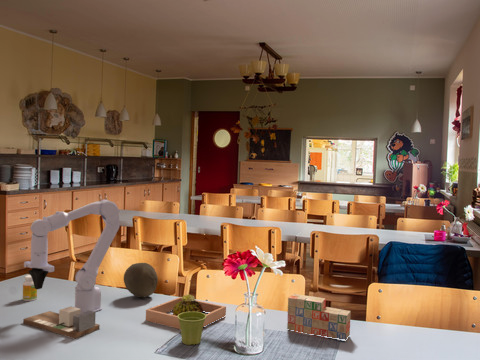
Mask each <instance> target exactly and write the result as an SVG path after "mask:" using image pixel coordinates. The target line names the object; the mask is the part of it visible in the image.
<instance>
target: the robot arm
mask: <svg viewBox="0 0 480 360" xmlns="http://www.w3.org/2000/svg"><path fill="white" fill-rule="evenodd" d="M118 207H119V206H118V205H117V203H115V202H114V201H110V200H108V199H105V198H103V199H101V200H98V201H94V202H90V203H88V204H86V205H83V206H81V207H79V208H76V209H74V210H73V209H72V210H71V211H68V212H65V211H64V210H63V211H62V210H61V211H59V210H56V211H55V213H53V214H51V215H49V216H48V215H47V216H42V219H40V218H37V219H35V220H34V221H33V222H32V223H31V226H30V231H31V232H32V233H31V240H30V260H28V261H23V267H24V268H30V269H29V270H28V274H29V275H31V277H32V279H33V283H34V287H35V289H37V290H41V289H43V285H44V282H45V279H46V277H47V275H48V274H49V273H53V272H55V266H54V265H52V264H49V263H48V255H49V254H48V252H49V249H48V248H49V245H48V244H49V240H48V234H49V232H54V231H56V230H59V229H62V228H64V227H67V226H68V225H69V224H70V222H71V221H74V220H76V219H80V218H83V217H85V216H88V215H96V216H101V217H102V220H103V222H104V224H105V225H104V228H103V230H102V232H101V234H100V236H99V238H98V239H97V242H96V243H95V245H94V247H93V250H92V251H91V254H90V255H89V256H88V258H87V260H86V262H85V263H84V264H83V265H82V267H81V268H80V269H79V270H78V271H77V272H76V274H75V276H74V279H75V282H76V286H75V287H74V288H75V289H74V291H75V292H74V307H75V308H79V309H81V313H83V312H86V311H89V310H90V311H94V312H98V311H102V310H103V308H102V307H101V305H102V304H101V303H102V292H101V289H100V288H99V287H98V286H96V282H97V281H96V280H97V276H98V274H99V269H100V266H101V264H102V262H103V260H104V258H105V256H106V254H107V252H108V250H109V248H110V246H111V245H112V242H113V241H114V239H115V237H116V235H117V232H118V231H119V229H120V226H121V225H120V209H119V208H118Z"/></svg>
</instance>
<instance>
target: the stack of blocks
mask: <svg viewBox="0 0 480 360" xmlns="http://www.w3.org/2000/svg"><path fill="white" fill-rule="evenodd" d="M326 303H327V299H326V298H324V297H319V296H312V295H311V296H310V295H304V294H297V293H293V294H291V295H290V296H289V297H287V324H286V325H287V327H286V330H287V329H289V330H294V331H298V332H303V333H307V334H314V335H321V336H327V337H332V338H339V339H345V340H346V339H347V337H348V336H349V335H351V330H350V329H351V315H352V313H351V310H345V309H342V308H335V307H329V306H326V305H327V304H326ZM347 340H348V339H347Z"/></svg>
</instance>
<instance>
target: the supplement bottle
mask: <svg viewBox="0 0 480 360" xmlns="http://www.w3.org/2000/svg"><path fill="white" fill-rule="evenodd" d="M24 280H25V281H23V283H22V301H24V302H25V301H26V302H32V301H36V300H37V298H38V289H35V287H34V283H33V279H32V277H31V275H30V274H29V275H25V277H24Z"/></svg>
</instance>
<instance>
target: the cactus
mask: <svg viewBox="0 0 480 360" xmlns="http://www.w3.org/2000/svg"><path fill="white" fill-rule="evenodd" d="M181 297H182V298H181V299H182V301H180V302H178V303H176V305H175V306H174V307H173V311H172V314H171V313H170V314H171V315H175V316H178V315H179V314H180V313H184V312H201V313H202V312H203V310H202V306H201V305H202V304H199V303H198V301H199V300H197V299H196V298H195V296H194V295H191V294H185V295H184V294H183V295H182V296H181ZM196 300H197V301H196ZM204 314H205V315H206V313H204Z"/></svg>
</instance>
